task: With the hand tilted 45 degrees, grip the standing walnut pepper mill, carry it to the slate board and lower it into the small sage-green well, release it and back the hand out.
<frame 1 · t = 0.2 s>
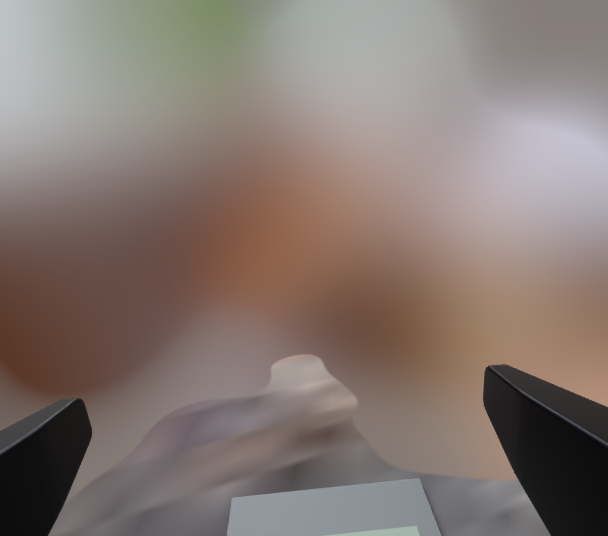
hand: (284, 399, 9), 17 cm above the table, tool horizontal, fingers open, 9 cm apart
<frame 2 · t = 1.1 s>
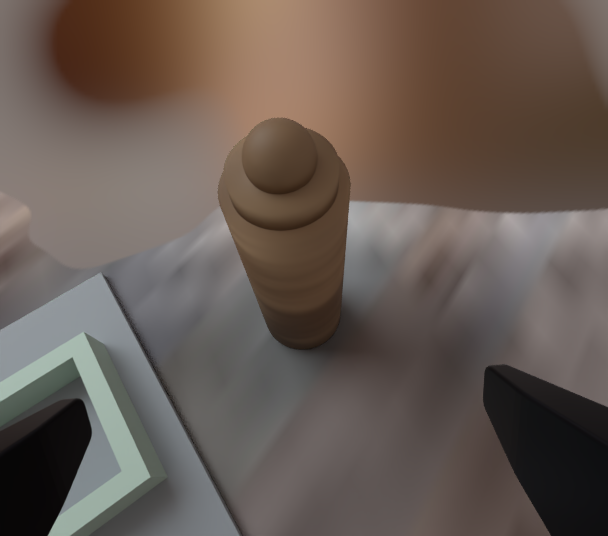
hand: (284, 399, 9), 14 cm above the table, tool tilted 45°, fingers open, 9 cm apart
well board: (63, 456, 21), on the table
pepper mill: (302, 312, 24), on the table
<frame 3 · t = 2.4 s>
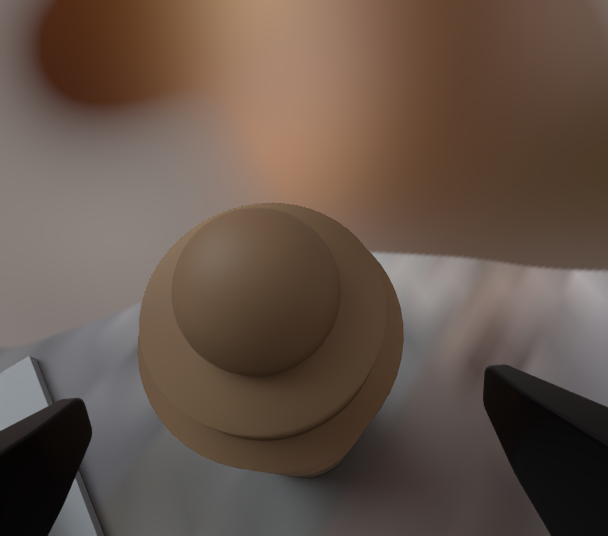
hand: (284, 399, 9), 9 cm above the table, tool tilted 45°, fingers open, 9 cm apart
pepper mill: (304, 418, 17), on the table
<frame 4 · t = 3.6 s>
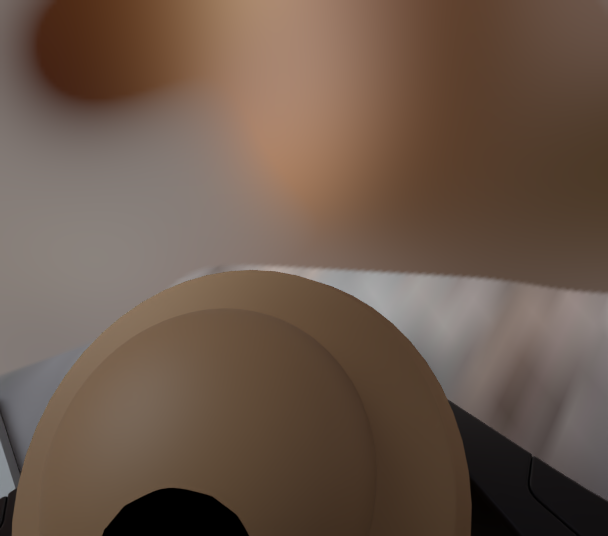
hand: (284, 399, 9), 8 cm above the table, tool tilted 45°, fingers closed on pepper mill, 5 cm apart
pepper mill: (305, 472, 15), on the table, touching gripper
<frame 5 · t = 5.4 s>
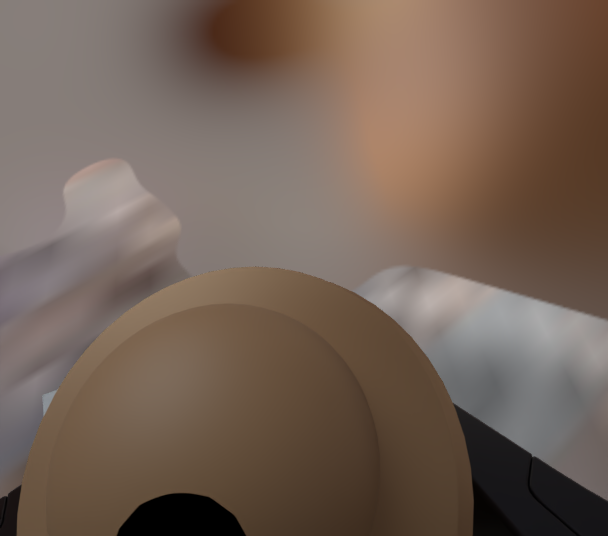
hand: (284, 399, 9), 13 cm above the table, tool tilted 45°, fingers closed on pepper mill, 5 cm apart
pepper mill: (306, 471, 15), point 6 cm above the table, touching gripper
when the fingers open (9 cm above the table, at t = 7.2 s): pepper mill drops 1 cm, resting on well board.
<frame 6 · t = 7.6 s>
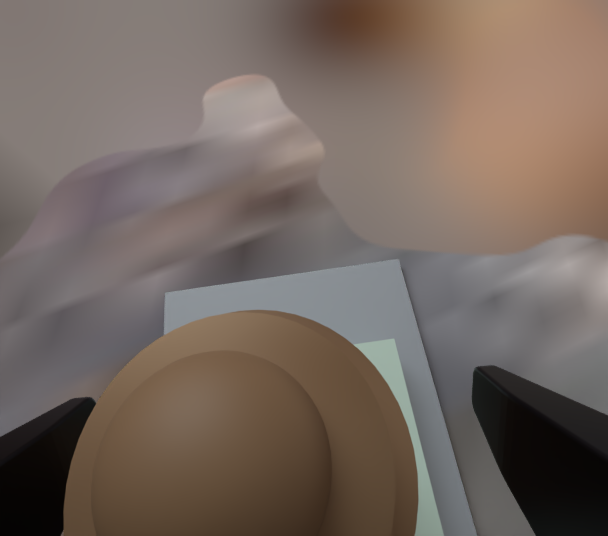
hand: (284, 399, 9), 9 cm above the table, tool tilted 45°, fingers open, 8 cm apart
well board: (307, 472, 16), on the table
pepper mill: (306, 475, 16), point 1 cm above the table, touching well board
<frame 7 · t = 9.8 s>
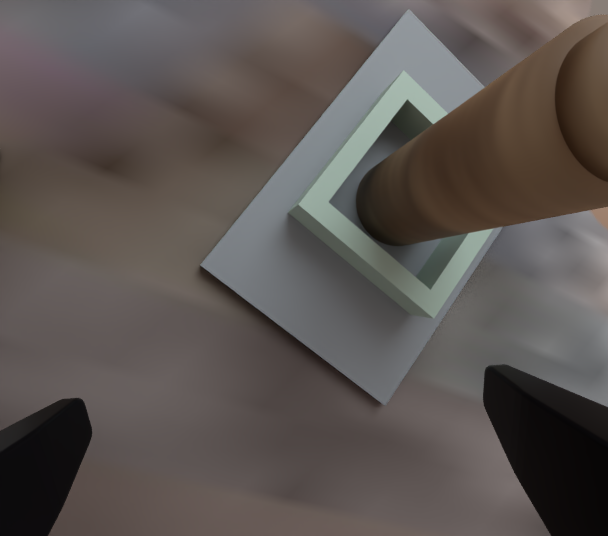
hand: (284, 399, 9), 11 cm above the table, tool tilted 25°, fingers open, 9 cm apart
well board: (392, 204, 22), on the table
pepper mill: (396, 203, 21), point 1 cm above the table, touching well board
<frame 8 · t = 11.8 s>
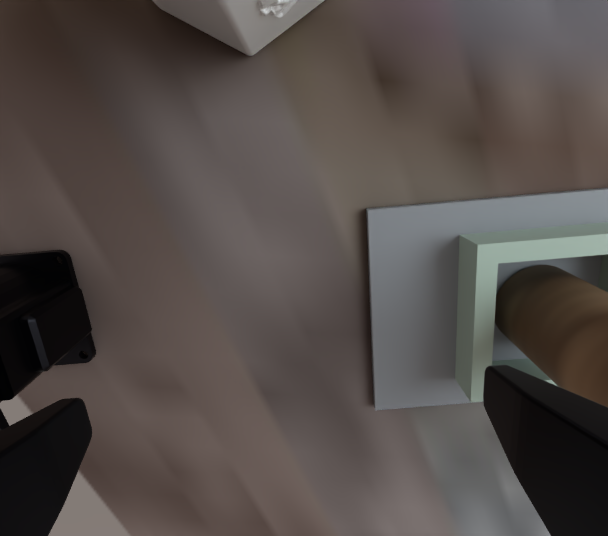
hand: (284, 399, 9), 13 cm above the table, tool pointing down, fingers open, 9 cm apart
well board: (530, 301, 22), on the table
pepper mill: (535, 304, 22), point 1 cm above the table, touching well board
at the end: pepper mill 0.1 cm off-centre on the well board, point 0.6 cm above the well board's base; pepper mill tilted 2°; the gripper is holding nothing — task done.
